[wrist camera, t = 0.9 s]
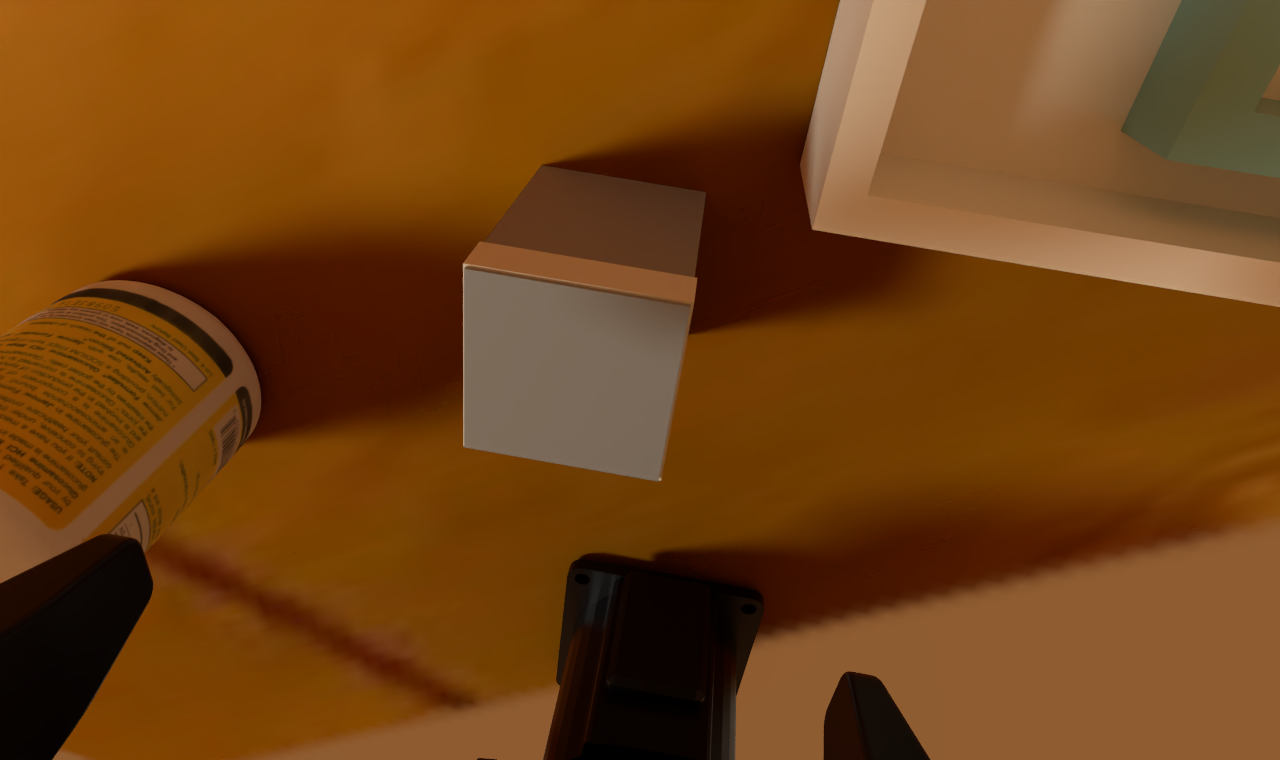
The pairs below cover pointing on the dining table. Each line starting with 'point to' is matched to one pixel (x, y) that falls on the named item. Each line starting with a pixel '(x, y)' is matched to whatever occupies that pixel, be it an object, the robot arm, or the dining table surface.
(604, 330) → the square block
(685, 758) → the robot arm
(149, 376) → the pill bottle
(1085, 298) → the dining table surface
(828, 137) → the walled box
